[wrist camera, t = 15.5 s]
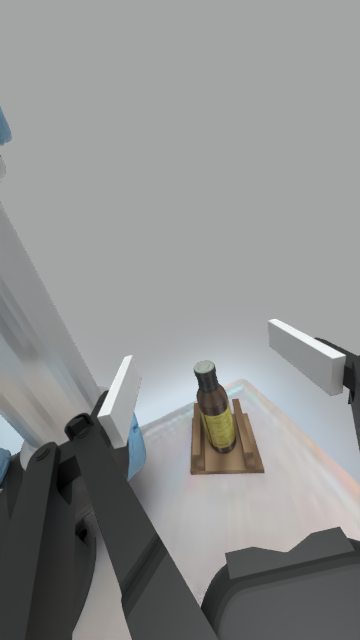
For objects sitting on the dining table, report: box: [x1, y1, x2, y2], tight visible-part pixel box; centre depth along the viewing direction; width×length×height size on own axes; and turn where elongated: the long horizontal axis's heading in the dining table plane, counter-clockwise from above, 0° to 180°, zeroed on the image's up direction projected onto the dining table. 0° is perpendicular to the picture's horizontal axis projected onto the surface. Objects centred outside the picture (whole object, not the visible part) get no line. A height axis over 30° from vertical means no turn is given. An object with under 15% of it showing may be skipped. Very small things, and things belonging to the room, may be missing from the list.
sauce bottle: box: [194, 361, 236, 453], centre depth 35 cm, size 6×6×20 cm
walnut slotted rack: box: [190, 399, 264, 475], centre depth 38 cm, size 14×12×6 cm
